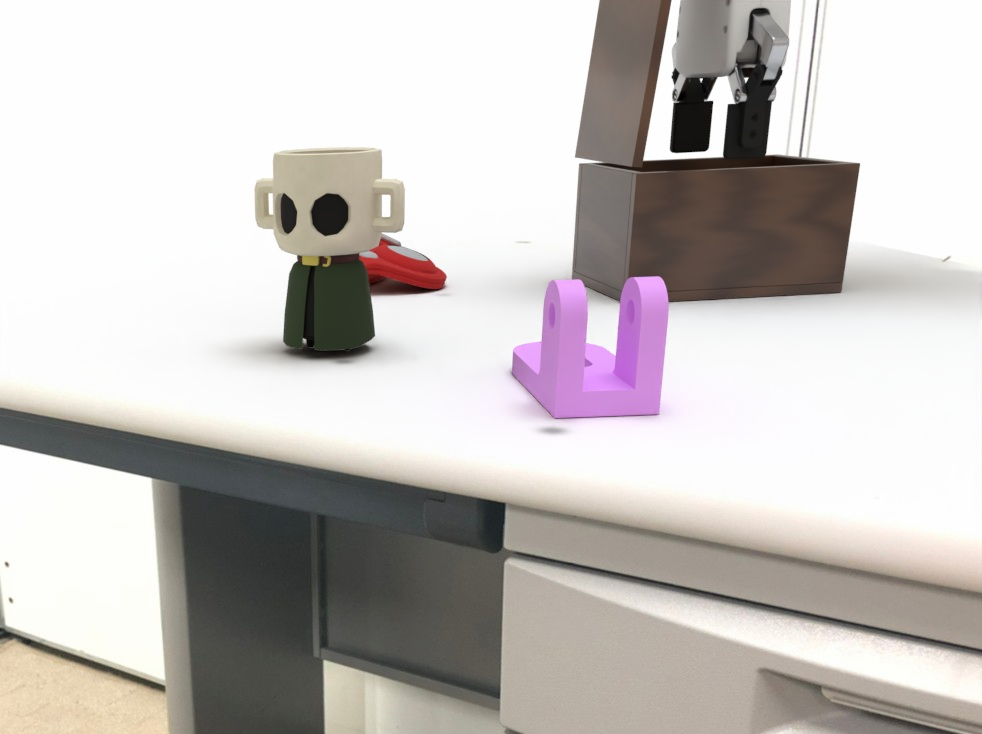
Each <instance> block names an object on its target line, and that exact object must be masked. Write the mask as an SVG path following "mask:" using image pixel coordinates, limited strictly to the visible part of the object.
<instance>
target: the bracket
mask: <svg viewBox="0 0 982 734" xmlns="http://www.w3.org/2000/svg"><path fill="white" fill-rule="evenodd" d="M587 295H588V294H587V291H586V286H585V285H584V284H583V282H582V281H581V280H580V279H575V280H572V279H552V280H550V281H549V282H548V284H547V287H546V289H545V293H544V298H543V307H542V325H541V327H542V328H541V341H531V342H527V343H521V344H519V345H516V346H515V347H513V349H512V365H511V374H512V375H513V376H514V377H515V378H516V380H517V381H518V382H519V383H521V385H522V386H523V387H524V388H525V389H527V391H528V392H529V393H530V394H531V396H533V397H534V399H536V401H537V402H539V404H541V406H543V408H544V409H545V410H546V411H547V412H548V413H549V414H550V415H551V416H552V417H553V418H554V419H565V418H569V419H571V418H596V417H623V416H649V415H660V410H661V409H660V408H661V397H662V388H663V377H664V367H665V357H666V346H667V345H666V344H667V335H668V325H669V310H670V309H669V302H668V294H667V289H666V286H665V283H664V281H663V279H662V278H661V277H659V276H655V277H631V278H629V279H628V280H627V281H626V283H625V285H624V287H623V290H622V294H621V300H620V301H619V310H618V322H617V323H618V324H617V334H616V335H617V336H616V349H615V354H614V353H613V352H611V351H610V350H608V349H607V348H605V347H604V346H601V345H598V344H593V343H590V342H587V335H588V323H589V322H588V321H589V319H588V317H589V306H588V296H587Z"/></svg>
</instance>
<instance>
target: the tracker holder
mask: <svg viewBox="0 0 982 734" xmlns="http://www.w3.org/2000/svg"><path fill="white" fill-rule="evenodd" d="M359 260H361V261H362V262H363V263H364V265H365V267H366V269H367V272H368V279H369V285H371V284H374V283H376V282H379V281H382V280H384V278H387V279H390V280H393V281H397V282H400V283H404V284H406V285H407V284H408V285H411V286H415V287H419V288H421V289H422V288H423V289H428V290H440V289H442V288H444V286H445V284H446V281H447V278H448V277H447V273H446V272H444V270H443V269H441V268H439V267H438V266H436V264H435V263H434V262H433V261H432V260H431V258H429V257H427V256H426V255H425V254H423V253H421V252H418V251H416V250H414V249H411V248H408V247H405V246H402V242H401V241H399V240H397V239H396V238H393V237H391V236H389V235H387V234H386V233H385V234H384V233H382V236H381V239H380V243H379V246H377V247H375V248H373V249H371V250H369V251H367V252H362V253H359Z"/></svg>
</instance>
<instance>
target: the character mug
mask: <svg viewBox="0 0 982 734" xmlns="http://www.w3.org/2000/svg"><path fill="white" fill-rule="evenodd" d="M253 191H254V216H255V218H254V219H255V222H256V225H257V227H258V228H261V229H263V230H273V236H274V239H275V241H276V244H277V246H278V248H279V249H280V250H281V251H282V252H284V253H287V254H291V255H295V256H296V261H295V262H293V264H292V266H291V269H290V271H289V273H288V281H287V290H286V298H285V306H284V316H283V333H282V334H283V335H282V342H283V343H284V345H285V346H286V347H289V348H292V349H293V348H294V349H297V350H303V348H304V347H303V346H304V340H305V345H306V347H307V348H308V349H314V351H322V352H323V351H345V352H350V351H351V350H352V349H358V348H360V347H361V346H363V345H365V344H367V343H369V342H370V341H371V340H374V338H375V337H376V327H375V320H374V319H375V318H374V309H373V301H372V295H371V287H370V286H371V285H370V284H369V279H368V272H367V269H366V267H365V265H364V263H363V262H362V261H361V260H359V253H362V252H367V251H369V250H371V249H373V248H375V247H377V246H379V243H380V239H381V236H382V234H383V233H385V234H386V233H387V234H388V233H391V234H392V233H393V234H396V233H399V232H402V231H403V229H404V225H405V214H406V213H405V209H406V206H405V205H406V202H405V201H406V189H405V185H404V182H403V181H402V180H400V179H397V178H383V151H382V149H381V148H376V147H363V146H362V147H361V146H360V147H358V146H355V147H354V146H349V147H348V146H347V147H346V146H345V147H342V146H341V147H339V146H337V147H313V148H297V149H285V150H281V151H277V152H276V151H275V152H274V153H273V157H272V178H271V177H263V178H260V179H258V180H256V182H255V185H254V190H253ZM269 194H272V214H271V213H270V202H269V201H270V200H269ZM385 195H386V196H387V195H388V196H390V206H389V207H390V208H389V210H390V212H389V213H390V214H389V216H383V196H385Z"/></svg>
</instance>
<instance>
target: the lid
mask: <svg viewBox="0 0 982 734" xmlns="http://www.w3.org/2000/svg"><path fill="white" fill-rule="evenodd" d="M671 5H672V0H598V7H597V15H596V19H595V20H596V21H595V26H594V32H593V39H592V45H591V52H590V59H589V65H588V72H587V77H586V83H585V90H584V95H583V96H584V97H583V102H582V109H581V115H580V121H579V122H580V123H579V129H578V134H577V141H576V146H575V153H574V158H575V159H581V160H582V159H583V160H587V161H595V162H598V163H599V162H606V163H612V164H618V165H624V166H630V167H642V164H643V160H644V158H645V153H646V147H647V141H648V136H649V130H650V125H651V118H652V112H653V107H654V101H655V96H656V90H657V85H658V79H659V73H660V68H661V63H662V57H663V51H664V45H665V40H666V34H667V29H668V22H669V18H670V11H671Z"/></svg>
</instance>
